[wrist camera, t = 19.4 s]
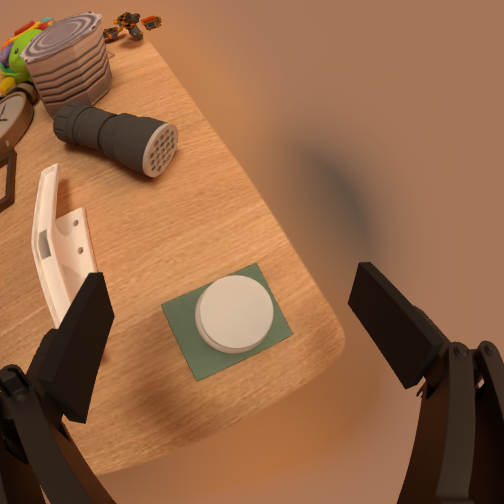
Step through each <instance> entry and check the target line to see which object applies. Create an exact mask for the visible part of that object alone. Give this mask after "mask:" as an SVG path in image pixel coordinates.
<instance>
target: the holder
mask: <svg viewBox="0 0 504 504" xmlns="http://www.w3.org/2000/svg"><path fill="white" fill-rule="evenodd" d="M16 156H17V153H16V152H15V150H14V149H12V150H10V151H9V152H7V153H6V154H5V155H3V156H2V157H0V168H1V167H2V166H4V165H5V164H7V163H8V167H7V179H6V196H5V197H3V198H2V199H1V200H0V212H1V211H3V210H4V209H6V208H7V207H9V206H10V205H11V204H13V203H14V187H15V168H16Z"/></svg>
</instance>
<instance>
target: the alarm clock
mask: <svg viewBox="0 0 504 504" xmlns="http://www.w3.org/2000/svg"><path fill="white" fill-rule="evenodd" d="M33 87H34V85H32V86H31V85H29V84H27V83H22V84H19V85H17V86H15V87H14V88H12V89H11V90H10V91H9V92H8V93H7V94H6V95H1V96H0V157H1V156H3V155H4V154H6V153H7V152H8V151H9V150H10V149H11V148H12V147H13V146H14V145H15V144H16V143H17V142H18V140H19V139H20V138H21V137H22V135H23V134H24V132H25V131H26V129H27V128H28V126H29V124H30V121H31V119H32V115H33V108H32V105H31V104H32V103H33V102H34V100H35V97H36V93H35V90H34V88H33ZM14 92H15V93H14Z"/></svg>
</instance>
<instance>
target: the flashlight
mask: <svg viewBox="0 0 504 504" xmlns="http://www.w3.org/2000/svg"><path fill="white" fill-rule="evenodd" d="M53 130H54V133H55V135H56V136H57V138H58V139H60V140H61V141H63V142H66V143H69V144H71V145H75V144H79V145H82V146H85V147H92V148H95V149H97V150H100V151H103V152H104V154H105V155H106V156H107V157H108V158H111V159H114V160H116V161H120V162H121V163H122V164H124V165H125V166H126V167H128V168H130V169H133V170H135V171H138V172H140V173H142V174H145V175H147V176H150V177H157V176H159V175H160V174H161V173H162V172H163V171H164V170H165V169H166V167H167V166H168V164H169V163H170V161H171V159H172V157H173V155H174V152H175V149H176V146H177V142H178V130H177V128H176V126H175V125H173V124H169V123H166V122H163V121H160V120H156V119H153V118H150V117H137V116H135V115H131V114H127V113H122V114H119V115H117V114H113V113H110V112H106V111H104V110H102V109H99V108H95V107H93V106H92V105H91V104H89V103H87V102H82V101H71V102H69V103H66V104H64V105H63V106H62V107H61V108H60V109H59V110H58V112H57V114H56V116H55V118H54V122H53Z"/></svg>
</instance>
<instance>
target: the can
mask: <svg viewBox="0 0 504 504" xmlns="http://www.w3.org/2000/svg"><path fill="white" fill-rule="evenodd" d="M101 17H102V15H100V14H96V13H92V12H84V13H81V14H77V15H74V16H71V17H68V18H65V19H62V20H59V21H58V22H56V23H54V24H53V25H51V26H50V27H48V28H46V29H45V30H43V31H42V32H40V33H39V34H37V35H36V36H35V37H33V38H32V40H31V41H30V42H29V43H28V45H27V46H26V47H25V48H24V50H23V51H22V52H21V54H20V55H19V56H20V57H21V58H23V59H24V61H25V64H26V66H27V69H28V71H29V73H30V76H31V78H32V80H33V83H34V85H35V87H36V89H37V91H38V94H39V96H40V98H41V100H42V102H43V104H44V106H45V108H46V110H47V111H48V113H49V114H50V116H51V117H52V118H55V116H56V114H57V112H58V110H59V109H60V108H61V107H62V106H63V105H64V104H66V103H69V102H71V101H82V102H87V103H89V104H91V105H92V106H93V105H94V104H95V103H96V102H97V101H98V100H99V99H100V98H101V97H102V96H103V95H105V94H106V93H107V92H108V91H109V88H110V85H111V81H112V74H111V70H110V65H109V61H108V56H107V52H106V47H105V42H104V37H103V31H102V26H101V20H100V18H101Z"/></svg>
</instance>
